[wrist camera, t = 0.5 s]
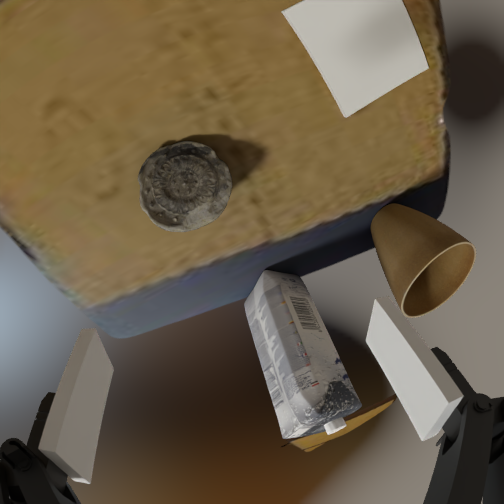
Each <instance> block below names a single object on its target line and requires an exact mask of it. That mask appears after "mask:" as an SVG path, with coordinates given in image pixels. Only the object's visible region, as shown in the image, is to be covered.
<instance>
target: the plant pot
mask: <svg viewBox="0 0 504 504" xmlns="http://www.w3.org/2000/svg"><path fill="white" fill-rule="evenodd" d="M371 233H372V237H373V241H374V245H375V248H376V252H377V255H378V258H379V260H380V263H381V266H382V268H383V271H384V274H385V276H386V278H387V281H388V283H389V286H390V288H391V290H392V292H393V295H394V297H395V299H396V301H397V303H398V305H399V307H400V309H401V311H402V313H403V315H404V316H406V317H409V318H415V317H419V316H423V315H425V314H427V313H429V312H431V311H433V310H435V309H436V308H438V307H439V306H441V305H442V304H443V303H445V302H446V301H447V300H448V299H449V298H450V297H451V296H452V295H453V294H454V293H455V292H456V291H457V290H458V289H459V288H460V287H461V285H462V284H463V283H464V282H465V280H466V278H467V277H468V275H469V273H470V272H471V270H472V267H473V265H474V262H475V258H476V249H475V247H474V245H473V244H472V243H471V242H469V241H468V240H467V239H465V238H464V237H463V236H461V235H460V234H458V233H457V232H455V231H454V230H452V229H451V228H449V227H448V226H446V225H445V224H442V223H441V222H439V221H438V220H436V219H434V218H432V217H430V216H428V215H426V214H424V213H422V212H419V211H417V210H414V209H412V208H409V207H406V206H403V205H400V204H395V203H393V204H389V205H386V206H385V207H383V208H382V209H380V210H379V211H378V212H377V214H376V215H375V217H374V218H373V220H372V223H371Z"/></svg>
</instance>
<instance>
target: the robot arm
mask: <svg viewBox="0 0 504 504" xmlns="http://www.w3.org/2000/svg"><path fill="white" fill-rule="evenodd" d="M366 342H367V344H368V346H369V347H370V349H371V351H372V352H373V354H374V356H375V357H376V359H377V361H378V363H379V364H380V366H381V368H382V370H383V371H384V373H385V375H386V376H387V378H388V380H389V382H390V384H391V385H392V387H393V389H394V391H395V392H396V394H397V396H398V398H399V400H400V401H401V403H402V405H403V407H404V409H405V411H406V412H407V414H408V416H409V418H410V420H411V422H412V423H413V425H414V427H415V429H416V431H417V433H418V435H419V437H420V439H421V440H422V441H424V440H426V439H429V438H431V437H433V436H435V435H437V434H438V432H439V431H440V430H441V428H443V430H444V431H445V433H444V434H443V436H442V437H441V438H440V439H439V441H438V442H437V444H436V446H438V445H439V444H440V443H441V446H440V450H439V454H438V458H437V461H436V465H435V468H434V472H433V475H432V479H431V482H430V485H429V488H428V492H427V494H426V497H425V500H424V503H423V504H481V501H482V496H483V504H504V397H500V398H493V399H490V398H489V397H488V396H487V395H484V394H480V393H479V394H476V392H475V391H474V390H473V389H472V387H471V386H470V385H469V383H468V382H467V381H466V379H465V378H464V376H463V375H462V374H461V372H460V371H459V370H457V367H456V366H455V364H454V363H452V360H451V359H450V358H449V356H448V355H447V354H446V353H445V352H443V351H442V350H441V349H439V348H438V347H435V348H432V349H430V348H429V347H428V346H427V344H426V343H425V342H424V340H423V339H422V338H421V337H420V335H419V334H418V332H416V330H415V329H414V327H413V326H412V325H411V323H410V322H409V321H408V320H407V318H406V317H405V316H404V315H403V313H402V312H401V311H400V310H399V308H398V307H397V306H396V305H395V303H394V302H393V301H392V300H391V299H390V298H389V296H386V297H380V298H375V301H374V306H373V311H372V315H371V320H370V324H369V329H368V334H367V338H366ZM113 370H114V368H113V366H112V364H111V362H110V360H109V358H108V356H107V353H106V351H105V349H104V347H103V345H102V342H101V340H100V338H99V336H98V333H97V331H96V329H82V330H81V332H80V334H79V337H78V339H77V341H76V343H75V346H74V348H73V351H72V353H71V355H70V358H69V360H68V363H67V365H66V368H65V370H64V373H63V376H62V378H61V381H60V384H59V386H58V389H57V392H56V393H51V392H48V394H47V395H46V396H45V397H44V399H43V400H42V401H41V404H40V407H39V410H38V413H37V415H36V418H35V419H36V420H35V421H34V424H33V427H32V430H31V433H30V436H29V439H28V442H27V446H26V445H25V444H24V443H23V442H22V441H20V440H19V439H17V438H11V439H8V440H6V441H5V442H4V443H3V444H2V446H1V447H0V459H1V460H0V504H81V503H80V501H79V500H78V498H77V496H76V495H75V493H74V492H73V490H72V488H71V486H70V485H69V484H68V483H67V476H69V477H70V478H71V479H73V480H74V481H77V482H83V483H88V484H90V483H91V477H92V470H93V464H94V458H95V452H96V447H97V442H98V437H99V432H100V427H101V422H102V417H103V412H104V408H105V403H106V399H107V395H108V390H109V386H110V382H111V378H112V374H113Z"/></svg>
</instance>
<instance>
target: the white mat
mask: <svg viewBox="0 0 504 504" xmlns="http://www.w3.org/2000/svg"><path fill="white" fill-rule="evenodd" d="M282 13H283V15H284V16H285V18H286V19H287V21H288V22H289V24H290V25H291V27H292V28H293V30H294V31H295V33H296V34H297V36H298V37H299V39H300V40H301V42H302V43H303V45H304V47H305V48H306V50H307V51H308V53H309V55H310V56H311V58H312V60H313V61H314V63H315V65H316V66H317V68H318V70H319V72H320V73H321V75H322V77H323V79H324V80H325V82H326V84H327V86H328V88H329V89H330V91H331V93H332V95H333V97H334V99H335V100H336V102H337V104H338V106H339V108H340V110H341V112H342V114H343V116H344V117H345V118H347V117H348V116H350V115H351V114H353V113H355V112H356V111H358V110H359V109H361V108H363V107H364V106H366V105H367V104H369V103H371V102H372V101H374V100H375V99H377V98H379V97H380V96H382V95H384V94H385V93H387V92H389V91H390V90H392V89H394V88H395V87H397V86H399V85H400V84H402V83H404V82H406V81H407V80H409V79H411V78H412V77H414V76H416V75H418V74H419V73H421V72H423V71H425V70H426V69H428V68H429V67H428V64H427V61H426V58H425V55H424V52H423V50H422V47H421V44H420V42H419V39H418V36H417V34H416V31H415V29H414V26H413V24H412V22H411V19H410V17H409V15H408V12H407V10H406V8H405V6H404V4H403V2H402V0H303V1H301V2H299V3H297V4H295V5H293V6H291V7H289V8H287V9H285V10H283V11H282Z"/></svg>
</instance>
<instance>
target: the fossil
mask: <svg viewBox="0 0 504 504" xmlns="http://www.w3.org/2000/svg"><path fill="white" fill-rule="evenodd" d="M138 181H139V184H140V205H141V208H142V210H143V211H144V212H146V213H147V215H148V216H149V218H150V219H151V221H152V222H153V223H154V224H155V225H157V226H158V227H160V228H162V229H164V230H167V231H172V232H186V231H191V230H195V229H198V228H200V227H202V226H205V225H207V224H209V223H211V222H213V221H214V220H216V219H217V218H218V217H219V216H220V215H221V213H222V212H223V211H224V209H225V207H226V205H227V202H228V200H229V197H230V194H231V189H232V177H231V174H230V172H229V169H228V166H227V165H226V164H225V162H223V161H222V160H220V159H219V158H218V157H217V155H216V153H215V151H213V150H212V149H211V148H210V147H209V146H207V145H204V144H201V143H197V142H192V141H182V142H179V143H176V144H173V145H171V146H169V145H168V146H165V147H162V148H159V149H158V150H156V151H155V152H154V153H152V154H151V155H150V156H149V157H148V158H147V159H146V161H145V162H144V163H143V165H142V167H141V169H140V172H139V175H138Z"/></svg>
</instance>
